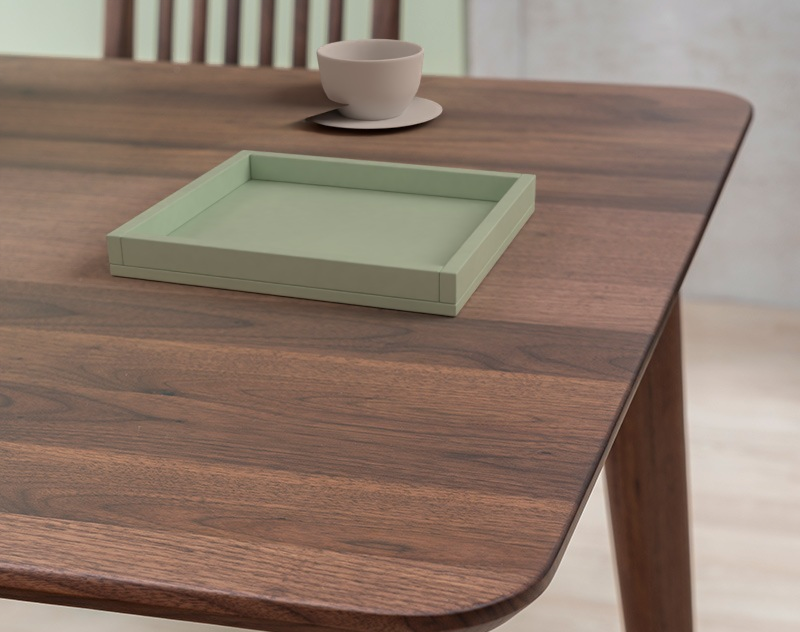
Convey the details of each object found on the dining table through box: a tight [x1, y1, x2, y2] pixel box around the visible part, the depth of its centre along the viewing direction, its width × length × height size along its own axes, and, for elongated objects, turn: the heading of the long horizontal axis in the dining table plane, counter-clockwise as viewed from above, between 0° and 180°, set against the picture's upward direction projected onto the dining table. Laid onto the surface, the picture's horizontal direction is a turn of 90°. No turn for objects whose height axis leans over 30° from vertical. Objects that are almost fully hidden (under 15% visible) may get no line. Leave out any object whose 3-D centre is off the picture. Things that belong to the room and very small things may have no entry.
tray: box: [105, 149, 537, 317], centre depth 65 cm, size 18×16×2 cm
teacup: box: [305, 38, 443, 130], centre depth 87 cm, size 10×10×5 cm
